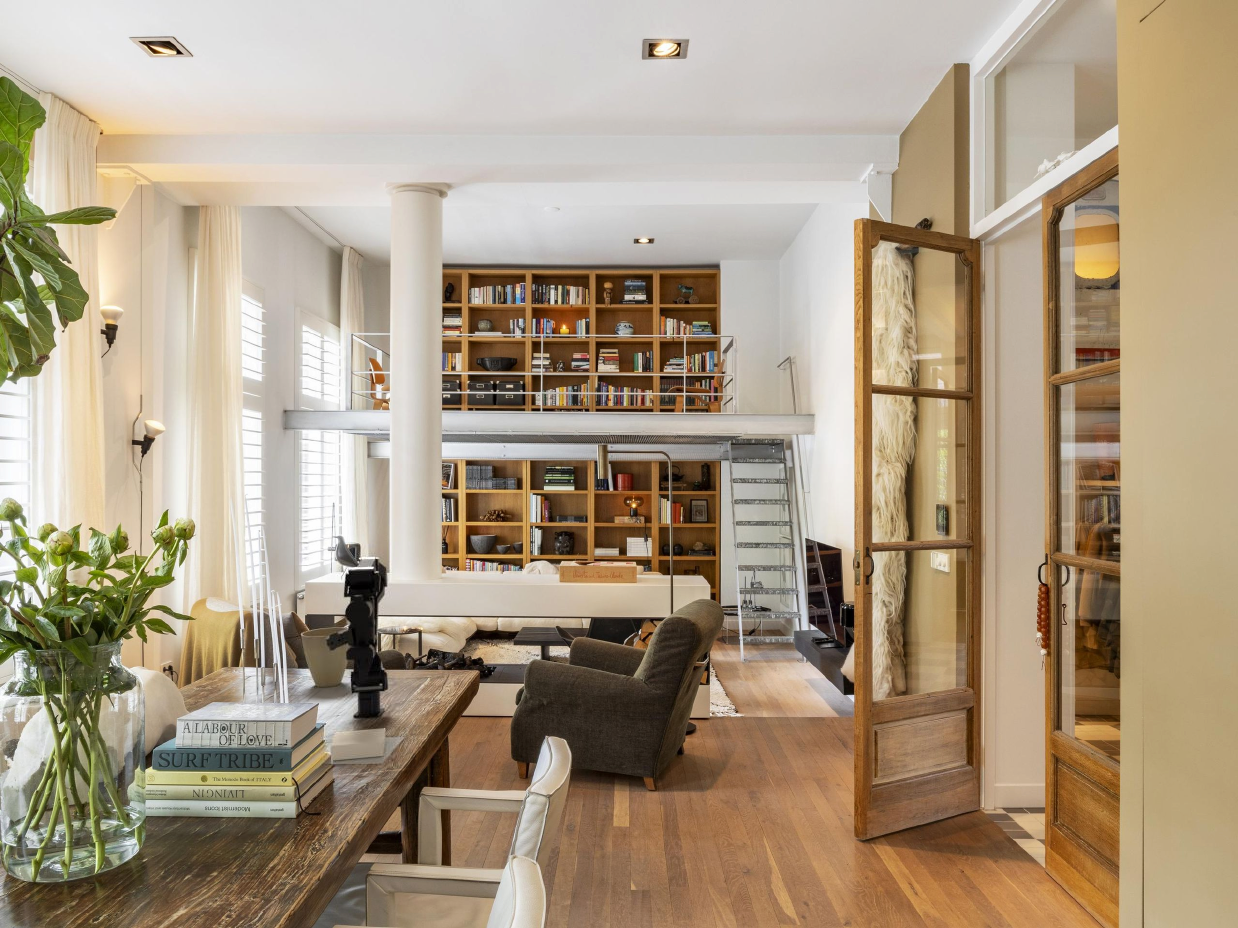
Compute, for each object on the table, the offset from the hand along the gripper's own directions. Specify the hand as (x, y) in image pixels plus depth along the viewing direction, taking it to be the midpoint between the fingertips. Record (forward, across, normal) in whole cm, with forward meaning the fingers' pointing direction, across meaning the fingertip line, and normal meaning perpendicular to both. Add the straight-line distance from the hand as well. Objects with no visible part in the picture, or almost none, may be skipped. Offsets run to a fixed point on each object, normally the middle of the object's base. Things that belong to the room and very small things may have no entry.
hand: (362, 681), depth 203 cm
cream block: (+10, +13, 0) cm, 16 cm away
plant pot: (+12, -52, -14) cm, 55 cm away
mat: (+12, +16, 0) cm, 20 cm away
